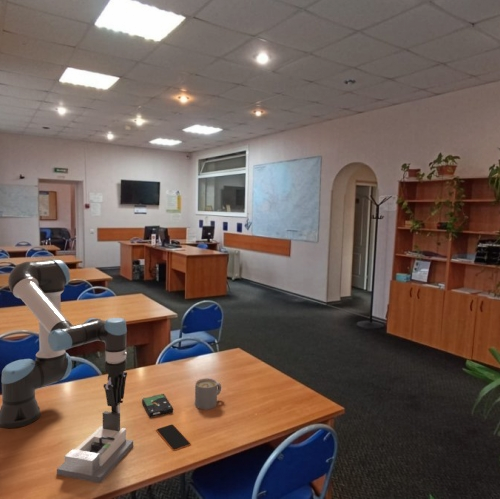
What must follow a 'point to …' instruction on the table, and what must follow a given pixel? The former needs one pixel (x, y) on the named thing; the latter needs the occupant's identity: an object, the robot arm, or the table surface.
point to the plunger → (109, 426)
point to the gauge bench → (101, 468)
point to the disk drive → (157, 405)
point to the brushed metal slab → (82, 462)
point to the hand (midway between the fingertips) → (115, 420)
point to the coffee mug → (206, 393)
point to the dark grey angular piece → (100, 443)
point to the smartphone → (173, 437)
